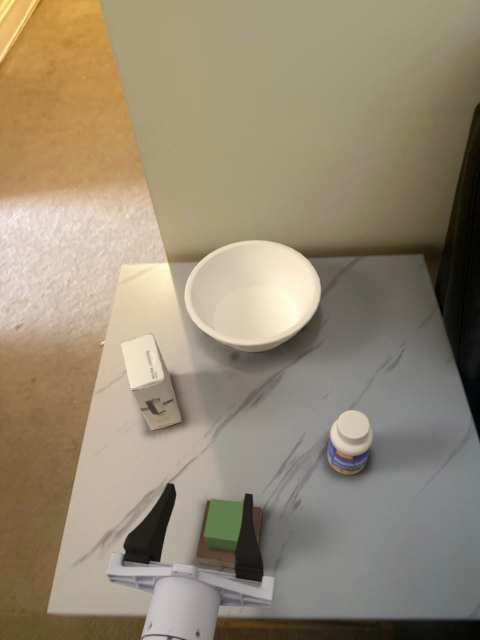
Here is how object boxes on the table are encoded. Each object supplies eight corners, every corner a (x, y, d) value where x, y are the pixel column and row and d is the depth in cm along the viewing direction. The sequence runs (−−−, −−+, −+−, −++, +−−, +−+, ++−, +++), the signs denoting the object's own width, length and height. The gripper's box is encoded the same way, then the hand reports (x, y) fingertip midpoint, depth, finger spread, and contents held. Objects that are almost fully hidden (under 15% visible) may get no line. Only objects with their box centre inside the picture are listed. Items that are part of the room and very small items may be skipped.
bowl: (305, 386, 85) (306, 356, 78) (174, 361, 89) (165, 330, 83) (329, 282, 97) (331, 249, 90) (212, 265, 101) (207, 231, 95)
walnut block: (254, 571, 69) (253, 565, 67) (199, 563, 70) (195, 556, 68) (262, 515, 73) (261, 507, 71) (209, 508, 74) (207, 500, 72)
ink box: (138, 384, 87) (119, 340, 77) (169, 375, 88) (154, 330, 78) (149, 433, 82) (130, 392, 72) (182, 422, 82) (168, 380, 73)
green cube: (244, 553, 68) (241, 542, 64) (207, 547, 69) (203, 536, 65) (249, 515, 70) (247, 503, 67) (214, 510, 71) (210, 498, 68)
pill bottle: (329, 476, 76) (334, 446, 68) (324, 439, 79) (328, 406, 71) (370, 474, 76) (379, 443, 68) (363, 437, 79) (371, 403, 71)
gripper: (264, 647, 41) (285, 481, 51) (77, 614, 43) (131, 461, 53) (266, 675, 46) (284, 518, 56) (97, 644, 48) (143, 499, 58)
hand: (210, 493), depth 55 cm, fingers open, 7 cm apart
